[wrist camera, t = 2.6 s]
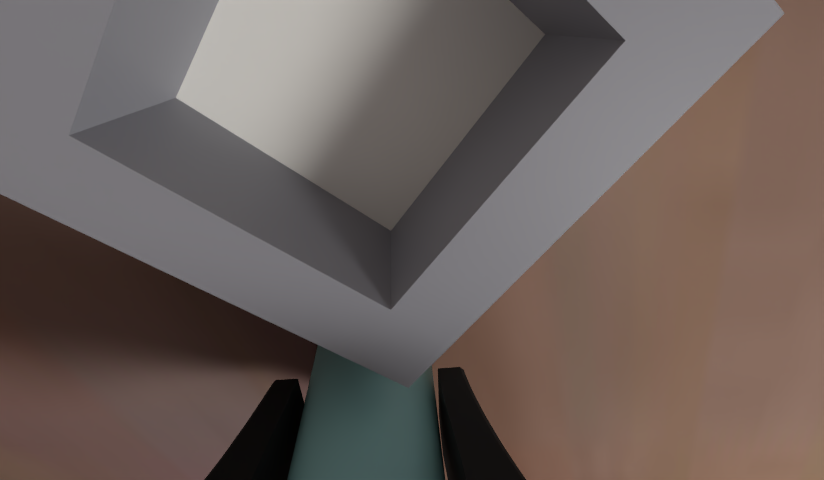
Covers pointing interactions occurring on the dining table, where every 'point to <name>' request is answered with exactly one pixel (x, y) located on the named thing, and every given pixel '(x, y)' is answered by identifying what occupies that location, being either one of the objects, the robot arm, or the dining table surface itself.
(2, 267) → the dining table surface
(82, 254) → the dining table surface
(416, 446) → the dowel
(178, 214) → the socket block
